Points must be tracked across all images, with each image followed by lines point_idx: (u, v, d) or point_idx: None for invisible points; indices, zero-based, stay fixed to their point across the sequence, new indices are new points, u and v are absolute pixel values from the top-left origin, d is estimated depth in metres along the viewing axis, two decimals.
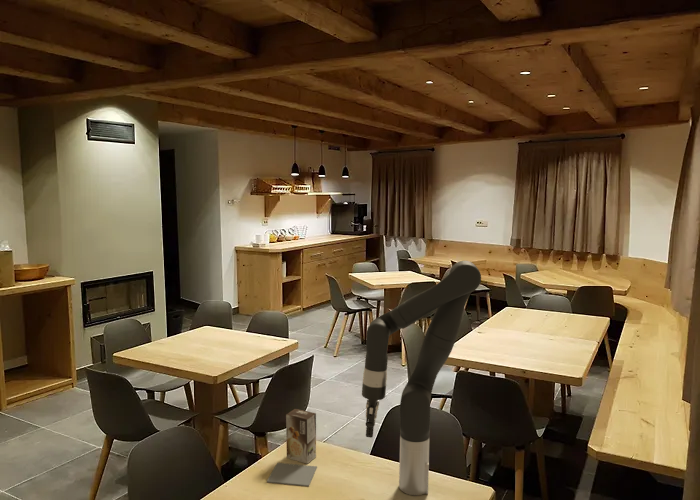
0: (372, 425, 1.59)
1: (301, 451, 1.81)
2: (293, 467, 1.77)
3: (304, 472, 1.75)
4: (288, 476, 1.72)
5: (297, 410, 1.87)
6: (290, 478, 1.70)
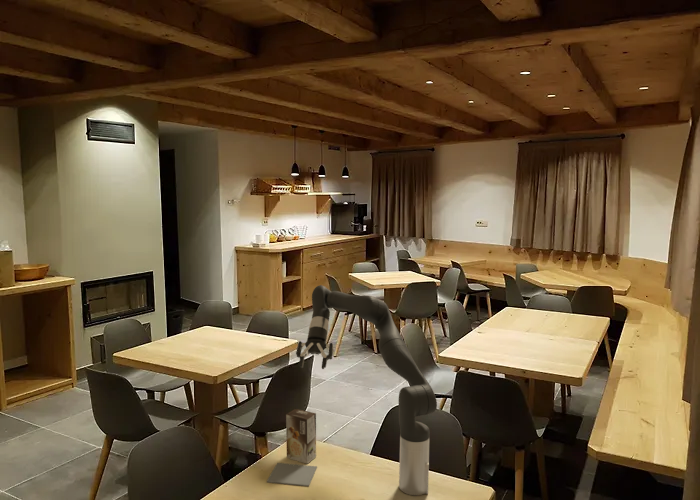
0: (331, 357, 2.03)
1: (301, 451, 1.81)
2: (293, 467, 1.77)
3: (304, 472, 1.75)
4: (288, 476, 1.72)
5: (297, 410, 1.87)
6: (290, 478, 1.70)
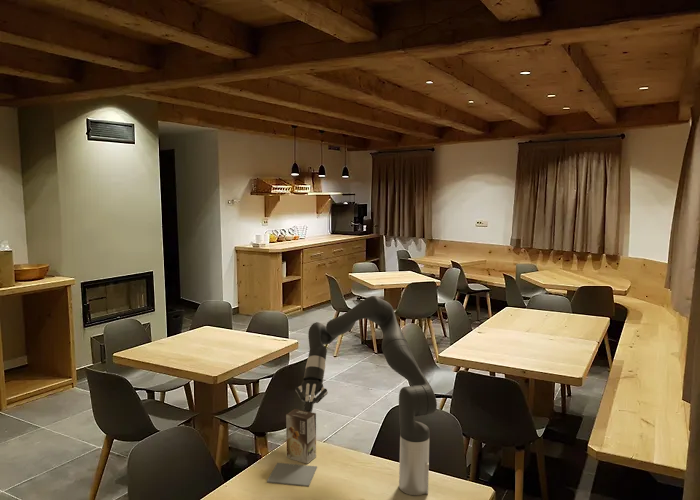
0: None
1: (301, 451, 1.81)
2: (293, 467, 1.77)
3: (304, 472, 1.75)
4: (288, 476, 1.72)
5: (297, 410, 1.87)
6: (290, 478, 1.70)
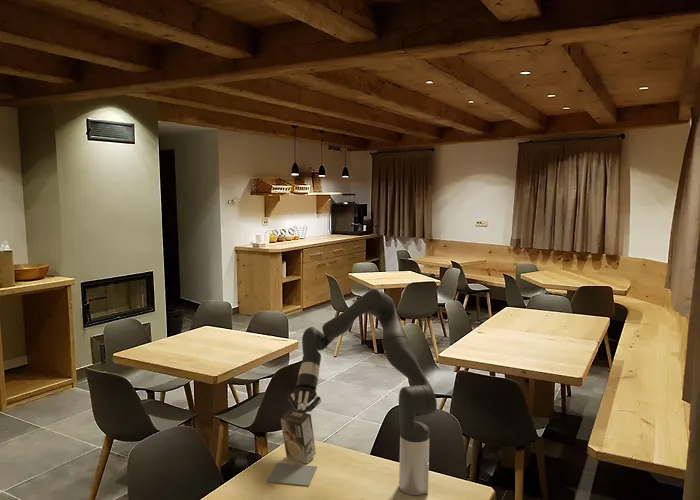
0: (310, 410, 1.89)
1: (300, 453, 1.80)
2: (293, 467, 1.77)
3: (304, 472, 1.75)
4: (288, 476, 1.72)
5: (292, 412, 1.84)
6: (290, 478, 1.70)
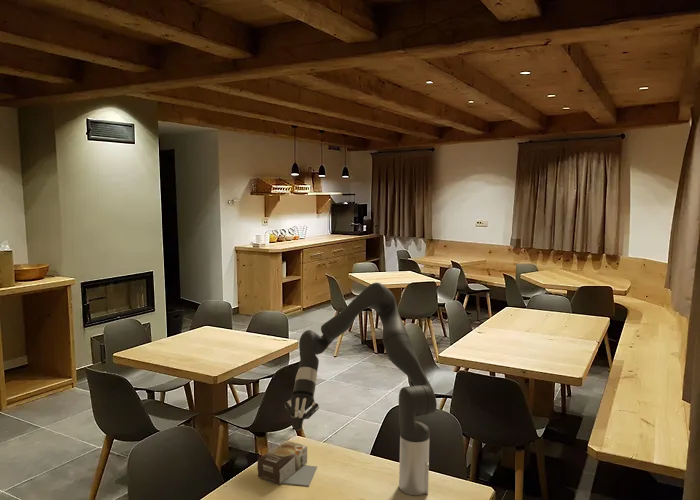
0: (308, 418, 1.81)
1: None
2: None
3: (304, 472, 1.75)
4: None
5: (261, 464, 1.69)
6: (290, 478, 1.70)
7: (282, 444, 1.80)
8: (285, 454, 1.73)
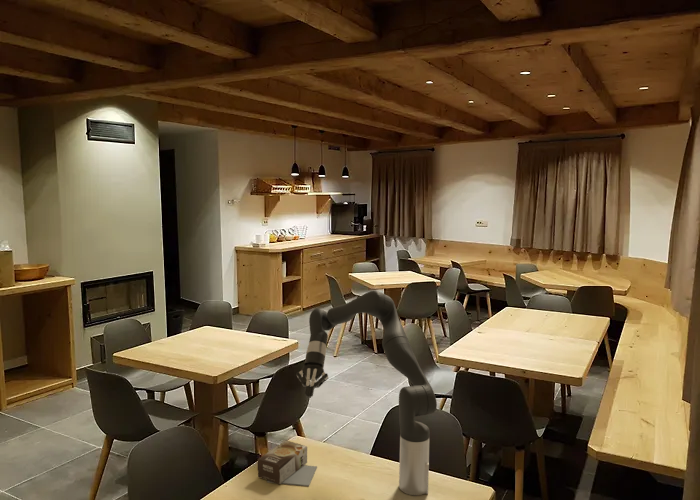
0: (318, 386, 1.97)
1: None
2: None
3: (304, 472, 1.75)
4: None
5: (261, 464, 1.69)
6: (290, 478, 1.70)
7: (282, 444, 1.80)
8: (285, 454, 1.73)
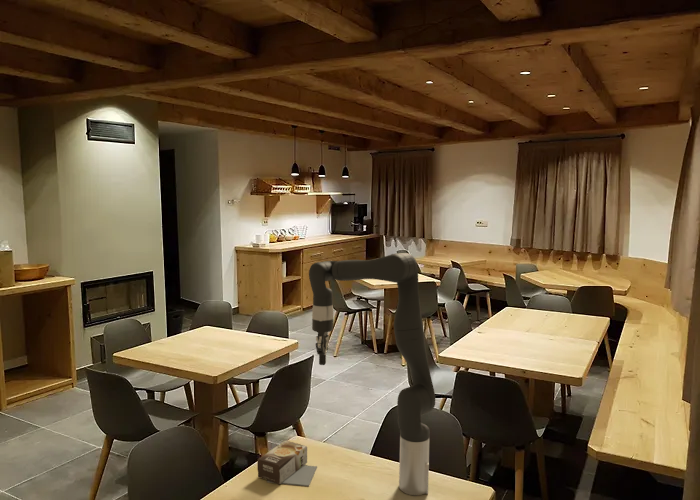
0: None
1: None
2: None
3: (304, 472, 1.75)
4: None
5: (261, 464, 1.69)
6: (290, 478, 1.70)
7: (282, 444, 1.80)
8: (285, 454, 1.73)
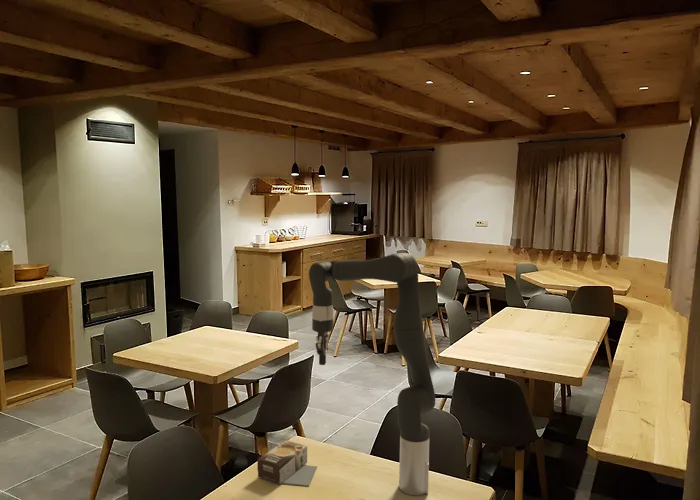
0: None
1: None
2: None
3: (304, 472, 1.75)
4: None
5: (261, 464, 1.69)
6: (290, 478, 1.70)
7: (282, 444, 1.80)
8: (285, 454, 1.73)
